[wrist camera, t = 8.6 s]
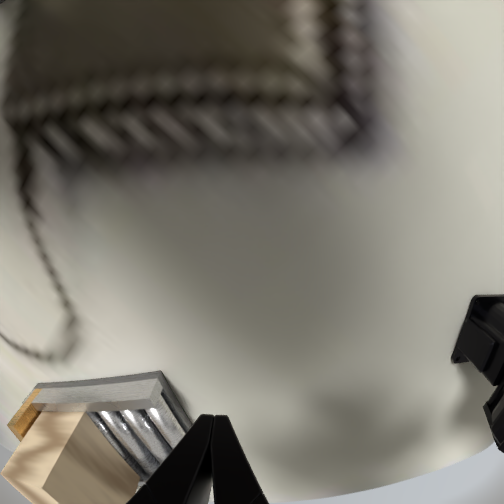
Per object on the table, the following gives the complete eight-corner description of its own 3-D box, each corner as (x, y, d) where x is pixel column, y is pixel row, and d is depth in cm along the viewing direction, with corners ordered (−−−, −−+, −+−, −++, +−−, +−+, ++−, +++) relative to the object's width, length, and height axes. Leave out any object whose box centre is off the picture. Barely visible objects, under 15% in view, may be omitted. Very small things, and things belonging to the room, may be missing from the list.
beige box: (85, 411, 21) (41, 488, 12) (140, 477, 24) (119, 546, 15) (42, 410, 21) (0, 473, 13) (96, 473, 24) (72, 533, 15)
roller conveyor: (160, 370, 23) (134, 433, 16) (216, 460, 26) (209, 516, 19) (37, 383, 24) (4, 424, 17) (98, 460, 27) (80, 502, 21)
